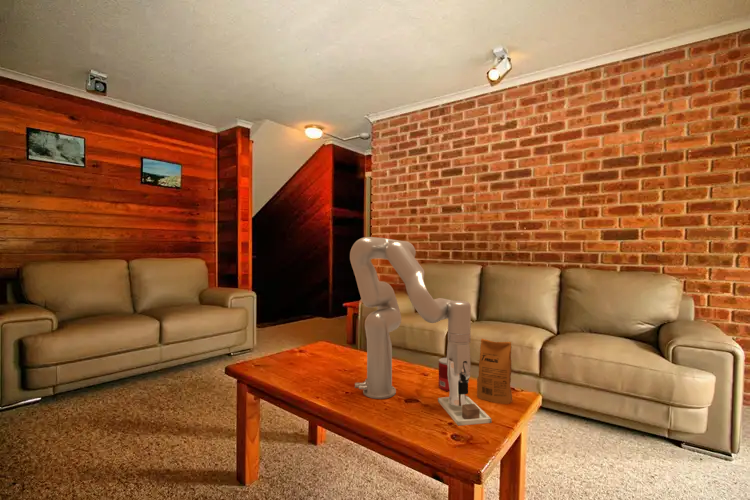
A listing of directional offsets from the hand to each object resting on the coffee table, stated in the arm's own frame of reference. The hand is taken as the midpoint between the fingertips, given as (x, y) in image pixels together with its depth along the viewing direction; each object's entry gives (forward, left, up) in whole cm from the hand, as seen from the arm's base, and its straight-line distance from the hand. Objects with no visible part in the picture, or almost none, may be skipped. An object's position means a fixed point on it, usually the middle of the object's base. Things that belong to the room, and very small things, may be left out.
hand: (458, 389), depth 124 cm
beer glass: (0, 0, -5) cm, 5 cm away
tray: (0, -3, -7) cm, 8 cm away
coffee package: (+16, +6, -8) cm, 19 cm away
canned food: (+4, +20, -8) cm, 22 cm away
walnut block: (0, -9, -6) cm, 11 cm away
